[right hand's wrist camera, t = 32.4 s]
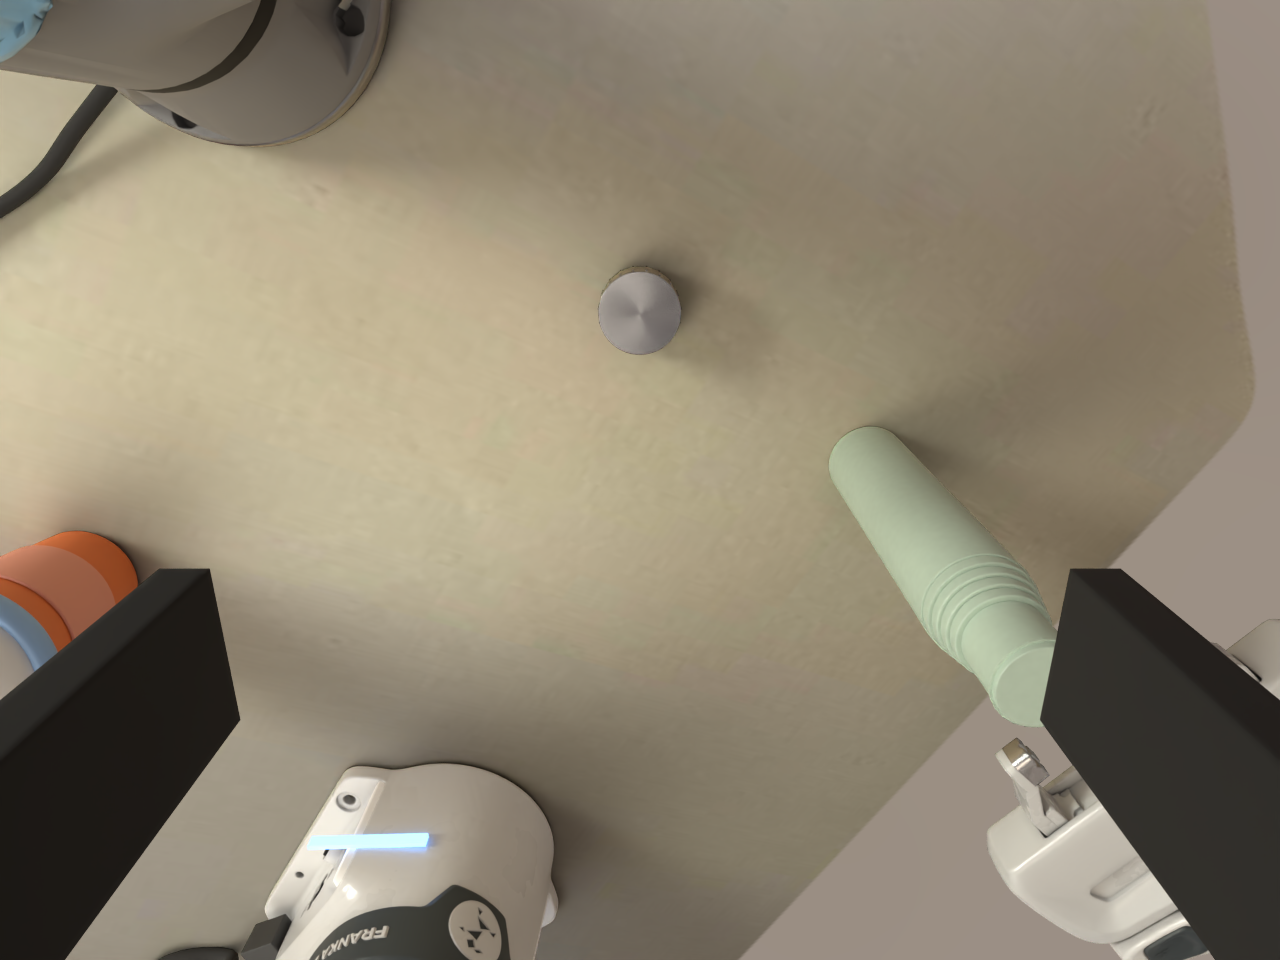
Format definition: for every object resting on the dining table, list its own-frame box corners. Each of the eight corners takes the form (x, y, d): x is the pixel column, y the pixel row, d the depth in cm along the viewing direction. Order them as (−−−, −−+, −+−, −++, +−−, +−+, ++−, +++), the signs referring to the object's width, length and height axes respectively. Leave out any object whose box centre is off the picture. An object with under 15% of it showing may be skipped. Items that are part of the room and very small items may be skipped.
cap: (596, 342, 46) (594, 352, 44) (602, 261, 45) (600, 266, 42) (675, 349, 47) (677, 359, 44) (683, 268, 45) (685, 274, 43)
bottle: (813, 474, 49) (946, 706, 28) (859, 412, 48) (1037, 605, 26) (873, 511, 50) (1048, 764, 29) (921, 451, 49) (1141, 670, 27)
